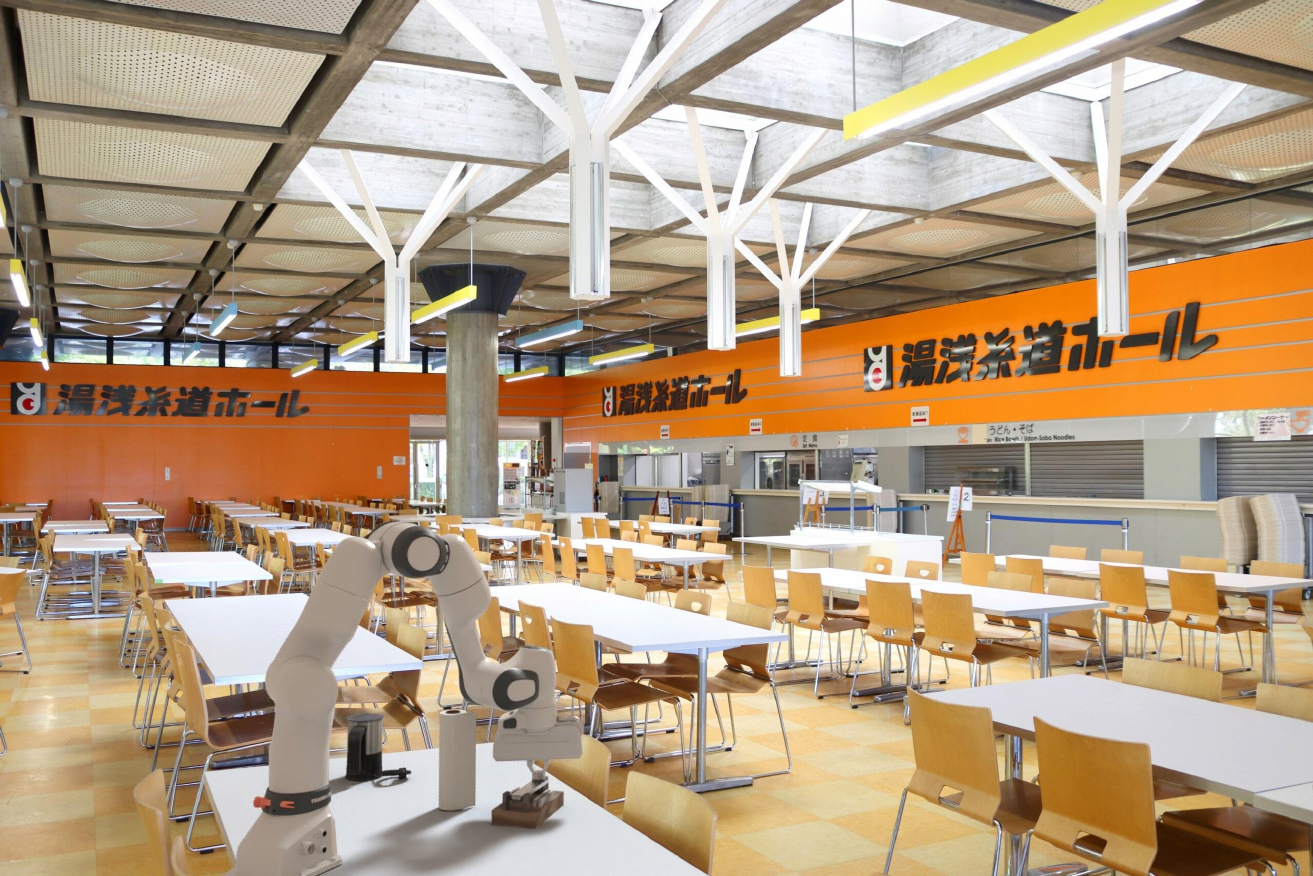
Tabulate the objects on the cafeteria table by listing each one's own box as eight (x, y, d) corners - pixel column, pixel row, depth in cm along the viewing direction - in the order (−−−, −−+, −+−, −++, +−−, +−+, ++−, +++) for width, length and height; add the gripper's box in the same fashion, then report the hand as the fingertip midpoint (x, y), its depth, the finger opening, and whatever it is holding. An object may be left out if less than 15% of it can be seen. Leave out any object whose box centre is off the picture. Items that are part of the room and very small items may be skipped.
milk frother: (345, 773, 258) (346, 713, 259) (409, 768, 262) (409, 710, 263) (344, 788, 244) (345, 726, 245) (412, 783, 249) (412, 721, 249)
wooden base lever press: (535, 828, 214) (535, 797, 215) (491, 824, 217) (491, 793, 217) (563, 804, 231) (563, 775, 231) (522, 801, 233) (523, 772, 234)
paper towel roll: (432, 809, 228) (433, 712, 229) (450, 802, 233) (451, 707, 234) (458, 814, 224) (459, 715, 225) (475, 806, 230) (476, 710, 231)
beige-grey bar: (521, 802, 216) (521, 794, 216) (508, 801, 217) (508, 793, 217) (548, 783, 231) (548, 776, 231) (536, 782, 232) (536, 775, 232)
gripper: (584, 712, 233) (585, 773, 232) (494, 715, 232) (495, 776, 232) (583, 719, 226) (584, 781, 226) (490, 722, 226) (492, 785, 225)
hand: (538, 779), depth 229 cm, fingers closed, pressing on beige-grey bar
